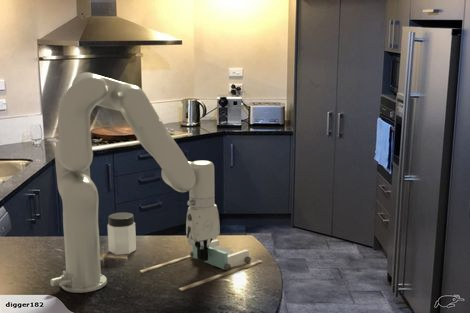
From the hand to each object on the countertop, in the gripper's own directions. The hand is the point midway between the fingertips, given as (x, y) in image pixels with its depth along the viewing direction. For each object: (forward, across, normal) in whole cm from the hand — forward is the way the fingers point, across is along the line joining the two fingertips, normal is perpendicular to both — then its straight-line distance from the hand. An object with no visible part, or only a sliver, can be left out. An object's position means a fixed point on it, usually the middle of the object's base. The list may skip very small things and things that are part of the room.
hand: (202, 259), depth 191 cm
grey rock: (+3, +8, -1) cm, 8 cm away
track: (+2, 0, 0) cm, 2 cm away
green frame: (+2, +7, 0) cm, 7 cm away
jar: (+3, -9, +30) cm, 32 cm away
